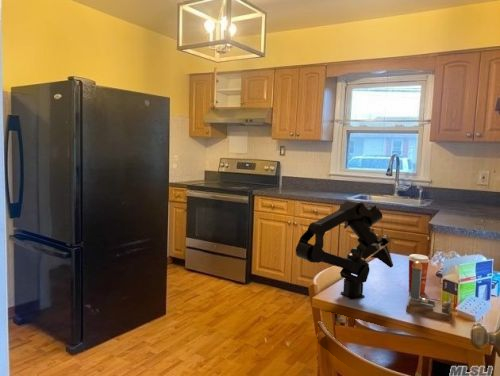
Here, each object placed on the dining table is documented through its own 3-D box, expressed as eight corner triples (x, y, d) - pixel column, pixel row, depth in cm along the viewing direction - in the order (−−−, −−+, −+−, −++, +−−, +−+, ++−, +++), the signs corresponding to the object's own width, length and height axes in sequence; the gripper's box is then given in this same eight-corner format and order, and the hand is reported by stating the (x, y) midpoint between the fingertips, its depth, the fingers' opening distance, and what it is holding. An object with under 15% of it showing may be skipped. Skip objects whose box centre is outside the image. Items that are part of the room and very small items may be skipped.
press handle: (409, 302, 132) (411, 262, 131) (410, 299, 135) (413, 260, 133) (427, 306, 129) (430, 265, 128) (428, 303, 132) (431, 262, 130)
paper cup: (417, 296, 145) (419, 260, 143) (401, 289, 152) (403, 254, 150) (432, 293, 148) (434, 258, 146) (416, 286, 155) (418, 252, 153)
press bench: (406, 311, 131) (407, 295, 130) (410, 303, 137) (411, 288, 137) (449, 321, 124) (450, 304, 123) (451, 312, 130) (452, 296, 130)
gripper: (355, 239, 152) (381, 272, 147) (338, 248, 137) (367, 285, 132) (376, 223, 147) (404, 256, 142) (361, 230, 131) (392, 268, 126)
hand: (392, 266), depth 136 cm, fingers closed
